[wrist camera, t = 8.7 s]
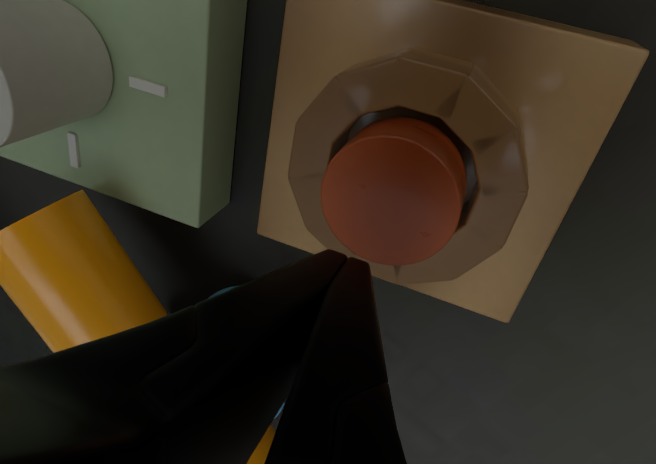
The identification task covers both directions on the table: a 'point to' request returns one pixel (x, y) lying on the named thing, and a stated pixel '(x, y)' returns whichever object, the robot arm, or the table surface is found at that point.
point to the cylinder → (79, 280)
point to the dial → (49, 68)
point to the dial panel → (156, 109)
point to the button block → (446, 126)
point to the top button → (395, 191)
